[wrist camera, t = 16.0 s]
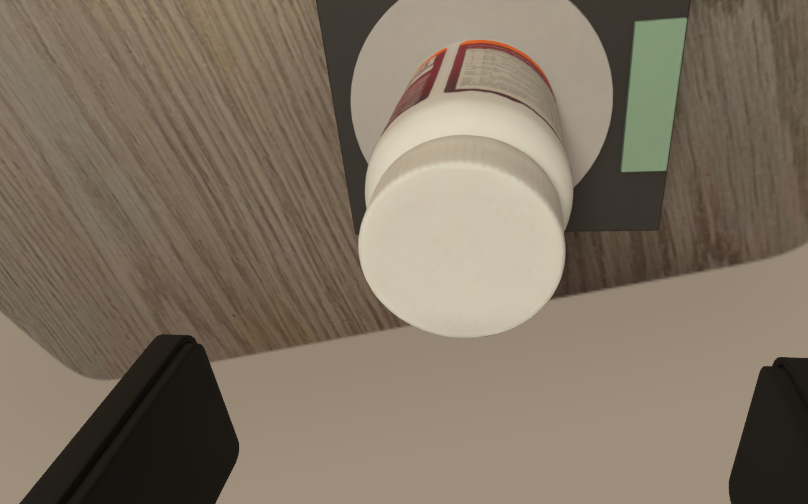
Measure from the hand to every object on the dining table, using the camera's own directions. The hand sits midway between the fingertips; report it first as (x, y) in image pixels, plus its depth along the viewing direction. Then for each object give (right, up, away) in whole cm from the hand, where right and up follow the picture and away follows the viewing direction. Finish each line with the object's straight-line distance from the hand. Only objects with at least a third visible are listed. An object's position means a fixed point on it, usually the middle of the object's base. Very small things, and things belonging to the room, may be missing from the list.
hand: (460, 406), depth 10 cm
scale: (+3, +10, +16) cm, 19 cm away
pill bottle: (+2, +9, +14) cm, 16 cm away
